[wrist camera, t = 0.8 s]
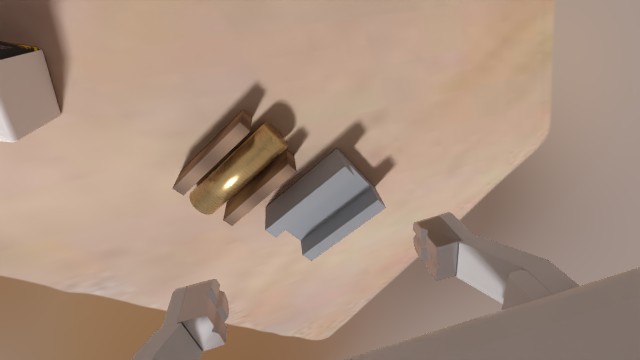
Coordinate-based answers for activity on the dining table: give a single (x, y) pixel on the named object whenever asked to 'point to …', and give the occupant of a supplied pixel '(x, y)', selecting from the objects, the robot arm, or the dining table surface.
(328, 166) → the cradle
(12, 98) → the medicine bottle
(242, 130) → the pair of brown bars
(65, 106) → the dining table surface
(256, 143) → the axle
